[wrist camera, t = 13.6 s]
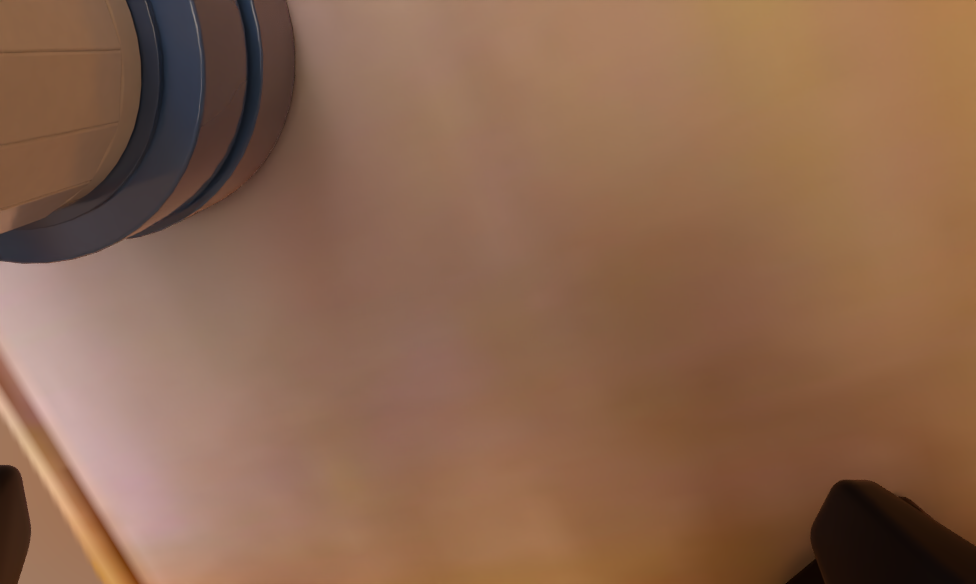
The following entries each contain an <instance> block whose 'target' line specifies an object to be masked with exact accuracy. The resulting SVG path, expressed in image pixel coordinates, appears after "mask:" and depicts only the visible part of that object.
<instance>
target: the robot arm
mask: <svg viewBox="0 0 976 584" xmlns="http://www.w3.org/2000/svg"><path fill="white" fill-rule="evenodd" d="M30 536H31V524H30V518H29V513H28V508H27V502H26V497H25V492H24V487H23V481H22V477H21V474H20V472H19V471H18V469H17V468H15V467H13V466H10V465H0V584H18V580H19V577H20V574H21V571H22V568H23V564H24V561H25V558H26V555H27V551H28V548H29V543H30ZM810 539H811V545H812V549H813V552H814V555H815V557H816V559H815V560H814V561H813V562H811V563H810V564H809V565H808V566H806V567H805V568H804V569H803V570H802V571H800V572H799V573H798V574H797V575H795V576H794V577H793V578H792V579H790V580H789V581H788V582H787V583H786V584H976V546H974V545H972V544H971V543H969V542H968V541H966V540H965V539H963V538H962V537H960V536H958V535H957V534H955V533H954V532H952V531H951V530H949V529H947V528H946V527H944V526H943V525H941V524H940V523H938V522H936V521H935V520H934V519H932V518H931V517H930V516H929V515H928V514H927V513H925V512H924V511H923V510H922V509H921V508H919V507H918V506H917V505H916V504H915V503H914V502H912V501H911V500H909V499H908V498H906V497H897V496H896V495H894V494H893V493H891V492H890V491H888V490H886V489H885V488H883V487H882V486H880V485H879V484H877V483H875V482H872V481H868V480H841V481H838V482H837V483H836V484H834V485H833V487H832V488H831V490H830V492H829V494H828V496H827V498H826V500H825V502H824V503H823V505H822V507H821V509H820V511H819V513H818V515H817V517H816V519H815V521H814V523H813V525H812V528H811V537H810Z"/></svg>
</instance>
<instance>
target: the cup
mask: <svg viewBox="0 0 976 584" xmlns="http://www.w3.org/2000/svg"><path fill="white" fill-rule="evenodd" d="M141 85H142V84H141V58H140V51H139V45H138V38H137V34H136V30H135V27H134V23H133V19H132V15H131V12H130V10H129V7H128V5H127V2H126V0H0V234H2V233H5V232H8V231H10V230H13V229H16V228H19V227H21V226H24V225H27V224H30V223H32V222H35V221H38V220H41V219H42V218H45V217H47V216H48V215H49V214H51V213H52V212H55V211H58V210H60V209H62V208H64V207H66V206H69V205H71V204H73V203H75V202H76V201H78V200H79V199H81V198H82V197H84V196H86V195H87V194H89V193H90V192H91V191H92V190H93V189H94V188H95V187H97V186H98V185H99V184H100V183H101V182H102V181H103V180H104V179H105V178H106V177H107V175H108V174H109V173H110V172H111V170H112V169H113V168H114V167H115V165H116V164H117V162H118V161H119V159H120V157H121V155H122V154H123V152H124V150H125V149H126V147H127V144H128V142H129V139H130V137H131V134H132V132H133V129H134V126H135V122H136V118H137V114H138V109H139V104H140V94H141Z"/></svg>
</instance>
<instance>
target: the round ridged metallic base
mask: <svg viewBox="0 0 976 584" xmlns="http://www.w3.org/2000/svg"><path fill="white" fill-rule="evenodd" d="M126 2H127V5H128V7H129V10H130V12H131V15H132V19H133V23H134V27H135V30H136V34H137V38H138V45H139V51H140V58H141V84H142V85H141V94H140V104H139V109H138V114H137V118H136V122H135V126H134V129H133V132H132V134H131V137H130V139H129V142H128V144H127V147H126V149H125V150H124V152H123V154H122V155H121V157H120V159H119V161H118V162H117V164H116V165H115V167H114V168H113V169H112V170H111V172H110V173H109V174H108V175H107V177H106V178H105V179H104V180H103V181H102V182H101V183H100V184H99V185H98V186H97V187H95V188H94V189H93V190H92V191H91V192H90V193H89V194H87V195H86V196H84V197H82V198H81V199H79V200H78V201H76V202H75V203H73V204H71V205H69V206H66V207H64V208H62V209H60V210H58V211H55V212H52V213H51V214H49V215H48V216H47V217H45V218H42V219H41V220H38V221H35V222H32V223H30V224H27V225H24V226H21V227H19V228H16V229H13V230H10V231H8V232H5V233H2V234H0V261H5V262H13V263H22V264H29V263H53V262H60V261H67V260H73V259H77V258H80V257H83V256H87V255H90V254H93V253H97V252H99V251H101V250H103V249H105V248H108V247H110V246H112V245H114V244H116V243H118V242H120V241H122V240H124V239H131V238H137V237H142V236H145V235H148V234H152V233H155V232H158V231H161V230H163V229H166V228H168V227H170V226H172V225H174V224H176V223H178V222H181V221H183V220H185V219H186V218H188V217H190V216H192V215H194V214H196V213H198V212H200V211H202V210H204V209H206V208H208V207H210V206H212V205H214V204H216V203H218V202H220V201H221V200H223V199H224V198H226V197H227V196H229V195H230V194H232V193H233V192H235V191H236V190H237V189H239V188H240V187H241V186H242V185H243V184H244V183H245V182H246V181H247V180H249V179H250V178H251V177H252V176H253V175H254V173H255V172H256V171H257V170H258V169H259V167H260V166H261V165H262V164H263V163H264V161H265V160H266V158H267V157H268V155H269V154H270V152H271V150H272V149H273V147H274V145H275V144H276V142H277V140H278V137H279V135H280V133H281V131H282V128H283V126H284V124H285V121H286V117H287V114H288V110H289V107H290V103H291V98H292V91H293V85H294V78H295V49H294V40H293V31H292V25H291V21H290V16H289V12H288V8H287V3H286V1H285V0H126Z"/></svg>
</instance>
